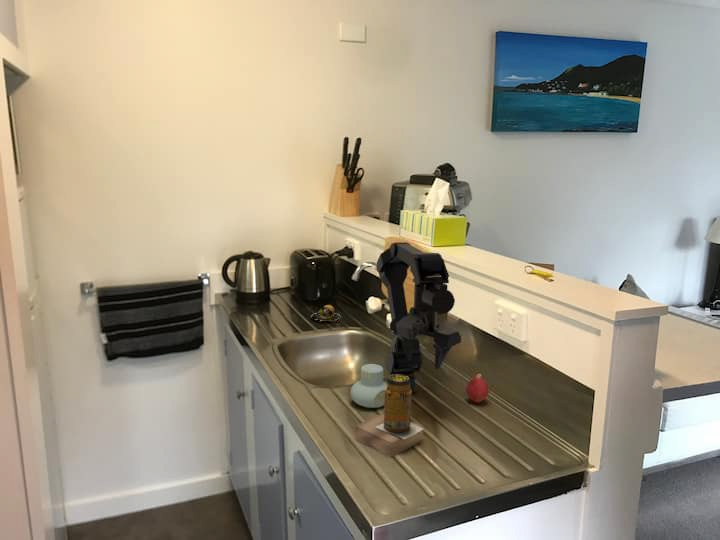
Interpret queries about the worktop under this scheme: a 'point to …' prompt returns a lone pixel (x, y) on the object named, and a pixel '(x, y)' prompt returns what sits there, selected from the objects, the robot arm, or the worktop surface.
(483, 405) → the worktop surface
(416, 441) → the pinkish brown square block
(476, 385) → the onion
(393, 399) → the condiment
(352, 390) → the air freshener
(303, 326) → the worktop surface
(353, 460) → the worktop surface
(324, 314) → the burger
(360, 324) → the worktop surface
